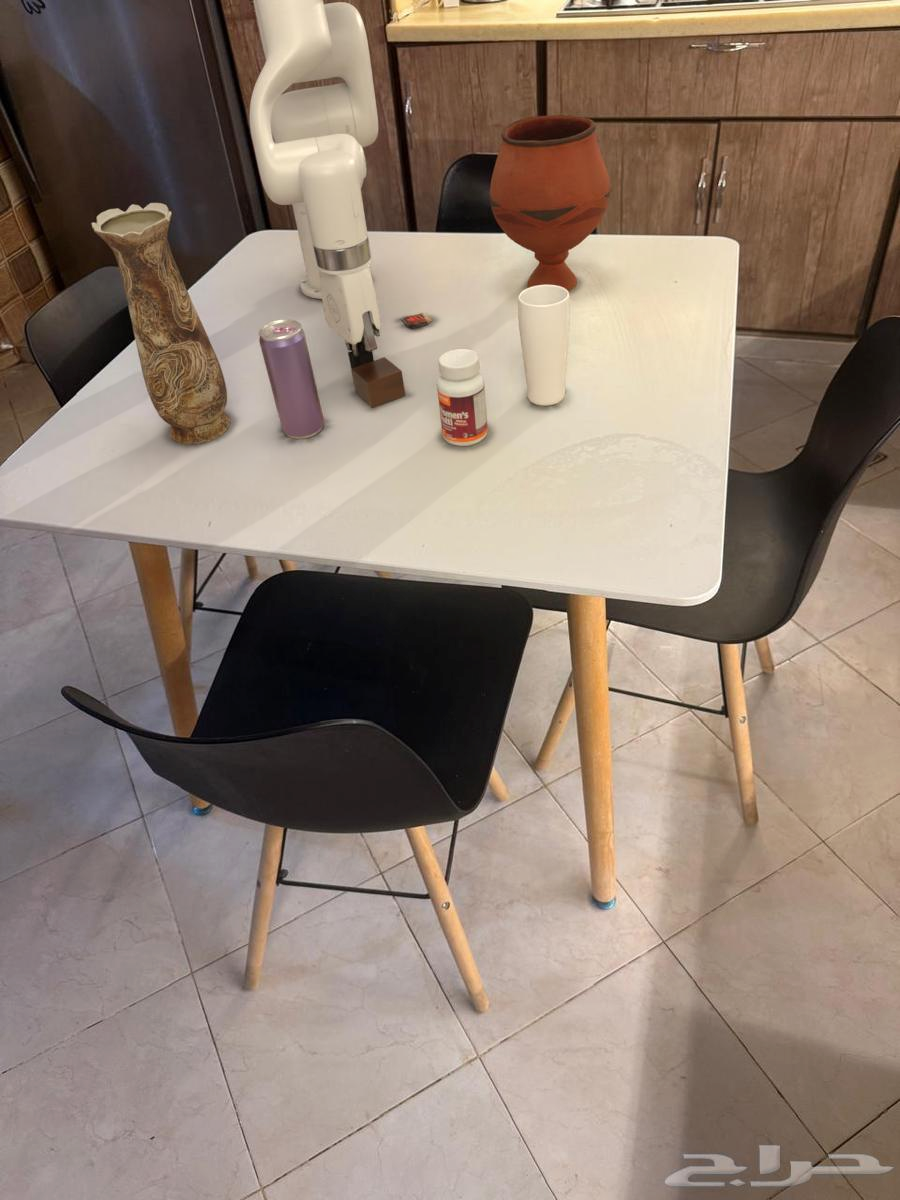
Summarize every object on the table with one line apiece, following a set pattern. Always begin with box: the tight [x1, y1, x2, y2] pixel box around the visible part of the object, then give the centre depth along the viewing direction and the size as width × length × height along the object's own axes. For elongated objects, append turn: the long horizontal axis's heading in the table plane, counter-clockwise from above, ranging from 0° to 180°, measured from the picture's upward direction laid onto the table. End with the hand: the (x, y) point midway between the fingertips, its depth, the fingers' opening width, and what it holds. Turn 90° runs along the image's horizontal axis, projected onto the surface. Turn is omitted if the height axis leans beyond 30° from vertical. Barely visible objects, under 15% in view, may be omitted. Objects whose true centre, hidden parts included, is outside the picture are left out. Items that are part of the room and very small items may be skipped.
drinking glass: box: [517, 285, 571, 407], centre depth 117 cm, size 7×7×15 cm
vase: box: [91, 202, 231, 445], centre depth 115 cm, size 10×11×30 cm
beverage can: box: [258, 318, 325, 440], centre depth 118 cm, size 6×6×15 cm
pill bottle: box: [436, 348, 488, 447], centre depth 114 cm, size 6×6×11 cm
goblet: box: [489, 114, 611, 292], centre depth 142 cm, size 19×19×25 cm
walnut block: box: [350, 356, 406, 409], centre depth 126 cm, size 6×6×4 cm
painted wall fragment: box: [399, 312, 433, 330], centre depth 144 cm, size 5×5×1 cm
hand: (364, 375), depth 130 cm, fingers closed
